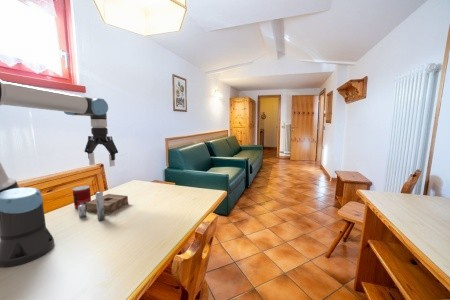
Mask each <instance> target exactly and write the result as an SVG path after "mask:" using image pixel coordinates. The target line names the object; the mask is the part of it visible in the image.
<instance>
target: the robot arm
mask: <svg viewBox="0 0 450 300" xmlns="http://www.w3.org/2000/svg"><path fill="white" fill-rule="evenodd" d="M0 106H11V107H18V108H19V107H20V108H21V107H22V108H29V109H38V110H49V111H54V112H55V111H57V112H63V113H64V114H65V115H69V116H72V117H73V116H79V117H80V116H84V117H89V118H90V127H91V128H90V129H91V130H90V131H91V132H90V133H91V135H88V136H87V142H86V146H85V147H84V150H83V151H84V153H86V154H87V158H88V161H89V163H88V164H89V166H94V165H95V164H96V162H95V153H94V151H95V149H96V148H97V147H98V145H102V146H104V148H105V149H106V150H107V151H108V153H109V154H108V160H109V167H115V166H116V165H115V164H116V163H115V160H116V154H118V153H119V151H118V149H117V147H116V144H115V142H114V140H113V136H112V135H110V136H109V134H108V133H109V132H108V118H107V117H108V116H107V113H108V110H109V105H108V103H107V101H106V99H104V98H100V97H99V98H98V97H89V96H88V97H87V96H82V95H76V94H71V93H65V92H61V91H54V90H49V89H45V88H41V87H40V88H39V87H34V86H29V85H24V84H23V85H22V84H19V83H13V82H7V81H3V80H2V79H0ZM45 217H46V216H45V209H44V198H43V195H42V192H41V191H40V189H38V188H36V187H31V186H30V187H25V186H24V187H22V186H21V187H20V186H19V184H18V182H17V179H13V178H10V177H9V176H8V174H7V173H6V170H5V169H4V167H3V164H2V162H0V268H8V267H15V266H19V265H23V264H26V263H30V262H32V261H34V260H36V259H39V258H40V257H43V256H44V255H45V254H46V255H47V253H48V252H50V251H51V250H53V248H54V246H55V239H54V237H53V235H52V233H51V232H50V230H49V229H48V228H47V226H46V218H45Z"/></svg>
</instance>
